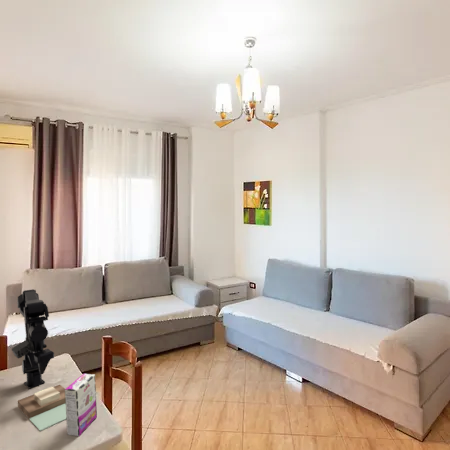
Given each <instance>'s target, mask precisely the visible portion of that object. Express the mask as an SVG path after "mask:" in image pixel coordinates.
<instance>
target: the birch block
mask: <svg viewBox="0 0 450 450" xmlns="http://www.w3.org/2000/svg"><path fill="white" fill-rule="evenodd" d="M33 395H34V400H35V401H36V402H37V403H38V404H39V405H40V406H44V405H46V404H48V403H51V402H53V401H56V400H58V399H60V392H58V391H57V390H56V389H55V388H54V386H49V387H47V388H44V389H42V390H40V391H36V392H35V393H33Z"/></svg>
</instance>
